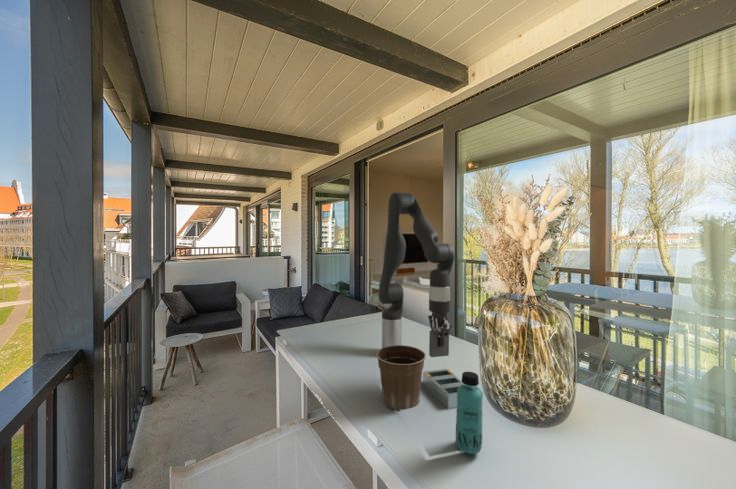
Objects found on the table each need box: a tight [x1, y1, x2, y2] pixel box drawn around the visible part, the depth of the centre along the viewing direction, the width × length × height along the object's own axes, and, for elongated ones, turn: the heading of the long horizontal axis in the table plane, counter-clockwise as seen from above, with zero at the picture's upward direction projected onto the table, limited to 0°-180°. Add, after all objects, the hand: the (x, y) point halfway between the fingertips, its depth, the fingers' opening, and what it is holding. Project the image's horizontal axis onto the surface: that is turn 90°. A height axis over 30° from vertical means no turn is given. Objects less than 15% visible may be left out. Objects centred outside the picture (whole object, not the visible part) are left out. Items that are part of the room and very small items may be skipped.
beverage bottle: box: [455, 371, 484, 455], centre depth 77 cm, size 6×7×20 cm
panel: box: [428, 330, 450, 358], centre depth 110 cm, size 2×7×9 cm, turn 105°
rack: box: [422, 368, 464, 410], centre depth 105 cm, size 18×10×5 cm, turn 16°
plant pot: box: [375, 344, 427, 412], centre depth 100 cm, size 16×16×16 cm
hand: (439, 345), depth 110 cm, fingers closed on panel, 1 cm apart
